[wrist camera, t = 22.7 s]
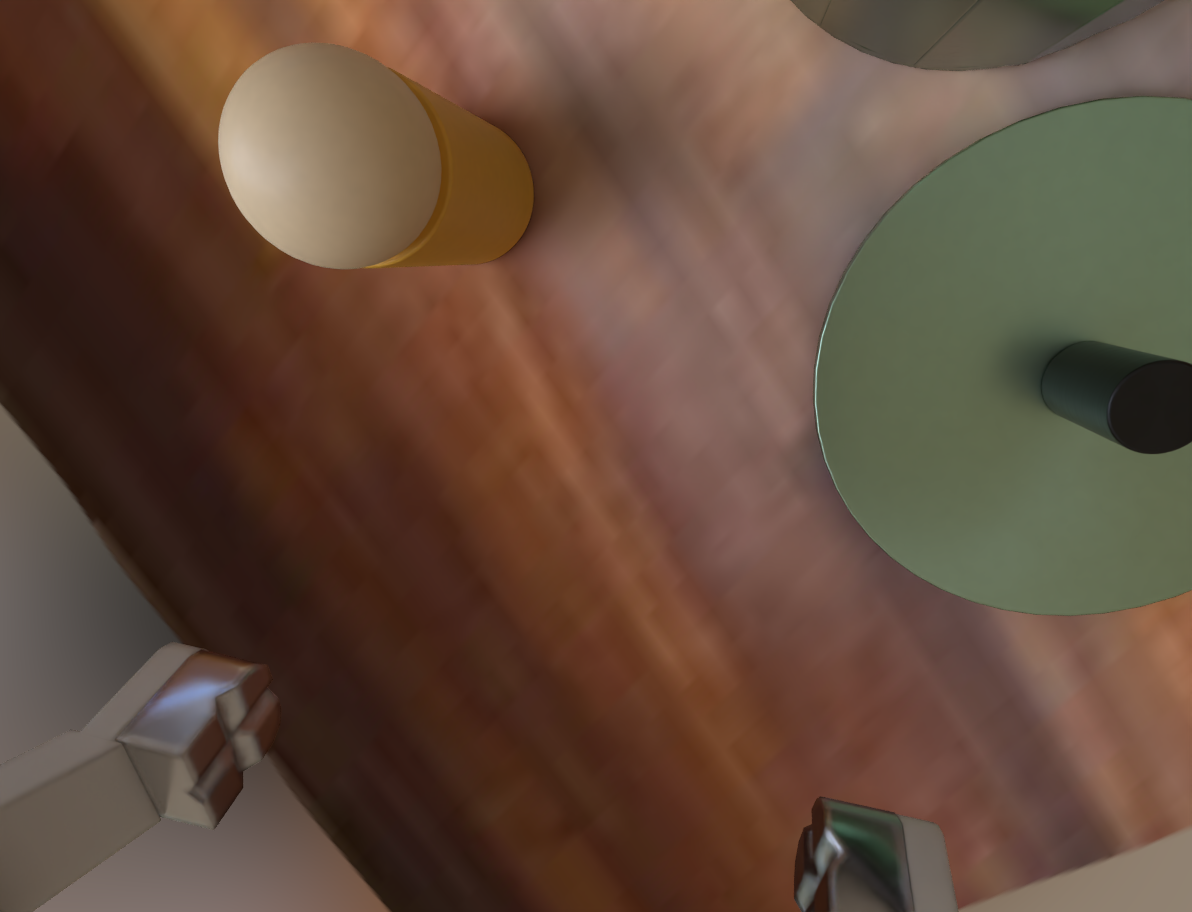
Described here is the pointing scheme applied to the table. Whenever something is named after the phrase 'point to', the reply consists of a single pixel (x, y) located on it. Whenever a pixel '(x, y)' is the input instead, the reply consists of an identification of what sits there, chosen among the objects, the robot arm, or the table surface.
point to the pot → (966, 28)
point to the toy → (367, 165)
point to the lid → (1026, 365)
